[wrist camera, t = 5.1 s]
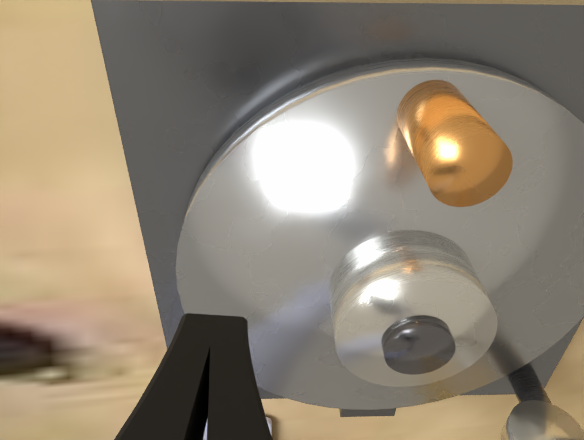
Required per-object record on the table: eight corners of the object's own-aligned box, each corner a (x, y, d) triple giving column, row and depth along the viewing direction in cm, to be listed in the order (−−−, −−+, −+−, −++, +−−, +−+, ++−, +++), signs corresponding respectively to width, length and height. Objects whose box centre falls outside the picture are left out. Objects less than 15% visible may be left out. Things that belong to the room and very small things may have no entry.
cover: (456, 331, 20) (482, 398, 18) (326, 335, 20) (333, 403, 18) (486, 228, 17) (525, 291, 14) (331, 232, 17) (341, 296, 14)
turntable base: (532, 378, 27) (599, 506, 21) (181, 384, 26) (156, 518, 21) (731, -1, 15) (991, 69, 10) (100, -8, 14) (-6, 63, 9)
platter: (519, 393, 25) (565, 490, 21) (204, 399, 25) (191, 500, 21) (690, 59, 15) (845, 126, 11) (149, 55, 14) (100, 125, 10)
